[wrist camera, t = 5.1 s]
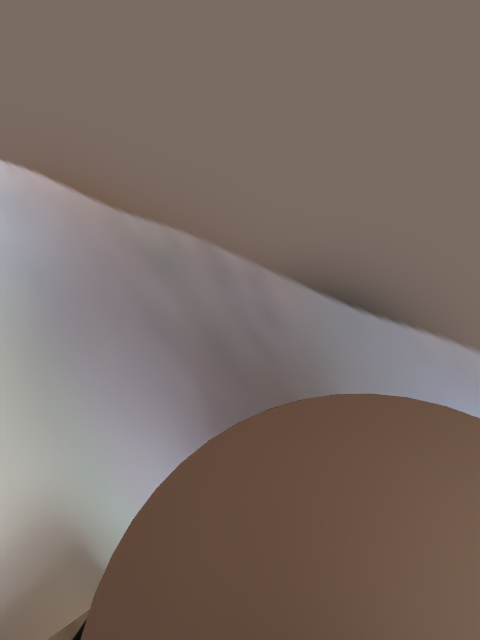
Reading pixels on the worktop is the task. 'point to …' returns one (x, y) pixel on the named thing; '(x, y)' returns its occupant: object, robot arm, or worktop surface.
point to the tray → (70, 629)
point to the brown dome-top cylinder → (308, 531)
